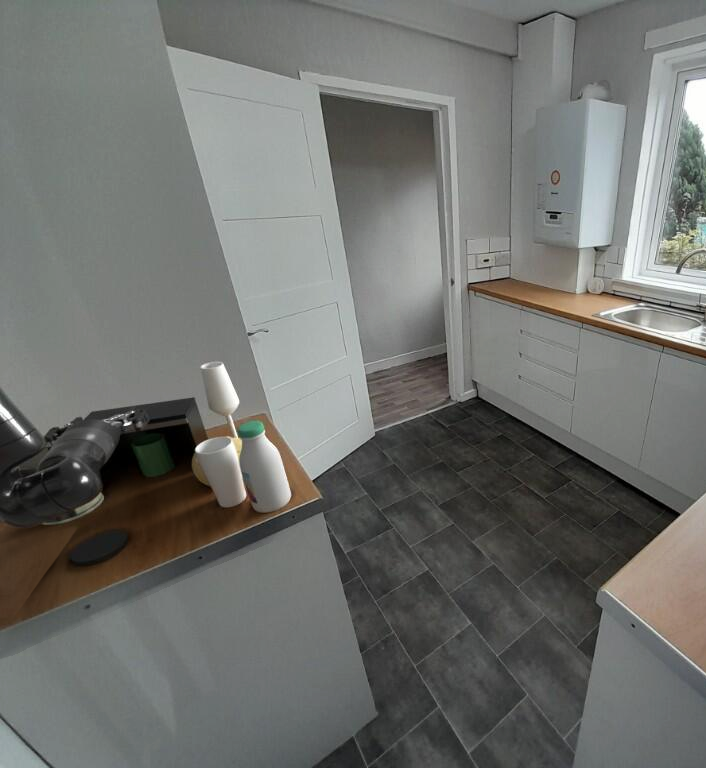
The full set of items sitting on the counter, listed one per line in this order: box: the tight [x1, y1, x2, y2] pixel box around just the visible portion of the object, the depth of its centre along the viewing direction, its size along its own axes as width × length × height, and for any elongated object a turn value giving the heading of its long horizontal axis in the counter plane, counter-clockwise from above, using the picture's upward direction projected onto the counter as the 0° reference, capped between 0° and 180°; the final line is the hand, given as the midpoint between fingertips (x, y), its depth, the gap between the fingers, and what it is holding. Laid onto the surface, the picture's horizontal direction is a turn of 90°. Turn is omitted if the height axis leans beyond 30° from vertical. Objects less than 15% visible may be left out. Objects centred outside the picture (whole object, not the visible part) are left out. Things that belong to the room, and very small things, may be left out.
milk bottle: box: [236, 420, 292, 514], centre depth 88 cm, size 8×8×20 cm
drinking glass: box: [195, 436, 247, 508], centre depth 89 cm, size 7×7×15 cm
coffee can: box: [20, 447, 105, 526], centre depth 86 cm, size 10×10×14 cm
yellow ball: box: [191, 435, 243, 487], centre depth 97 cm, size 11×12×11 cm
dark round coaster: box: [70, 529, 130, 567], centre depth 78 cm, size 8×8×1 cm
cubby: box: [83, 396, 209, 491], centre depth 99 cm, size 20×10×16 cm, turn 115°
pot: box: [131, 433, 176, 478], centre depth 100 cm, size 6×6×9 cm
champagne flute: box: [199, 361, 240, 438], centre depth 107 cm, size 7×7×24 cm
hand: (108, 415), depth 86 cm, fingers open, 8 cm apart
